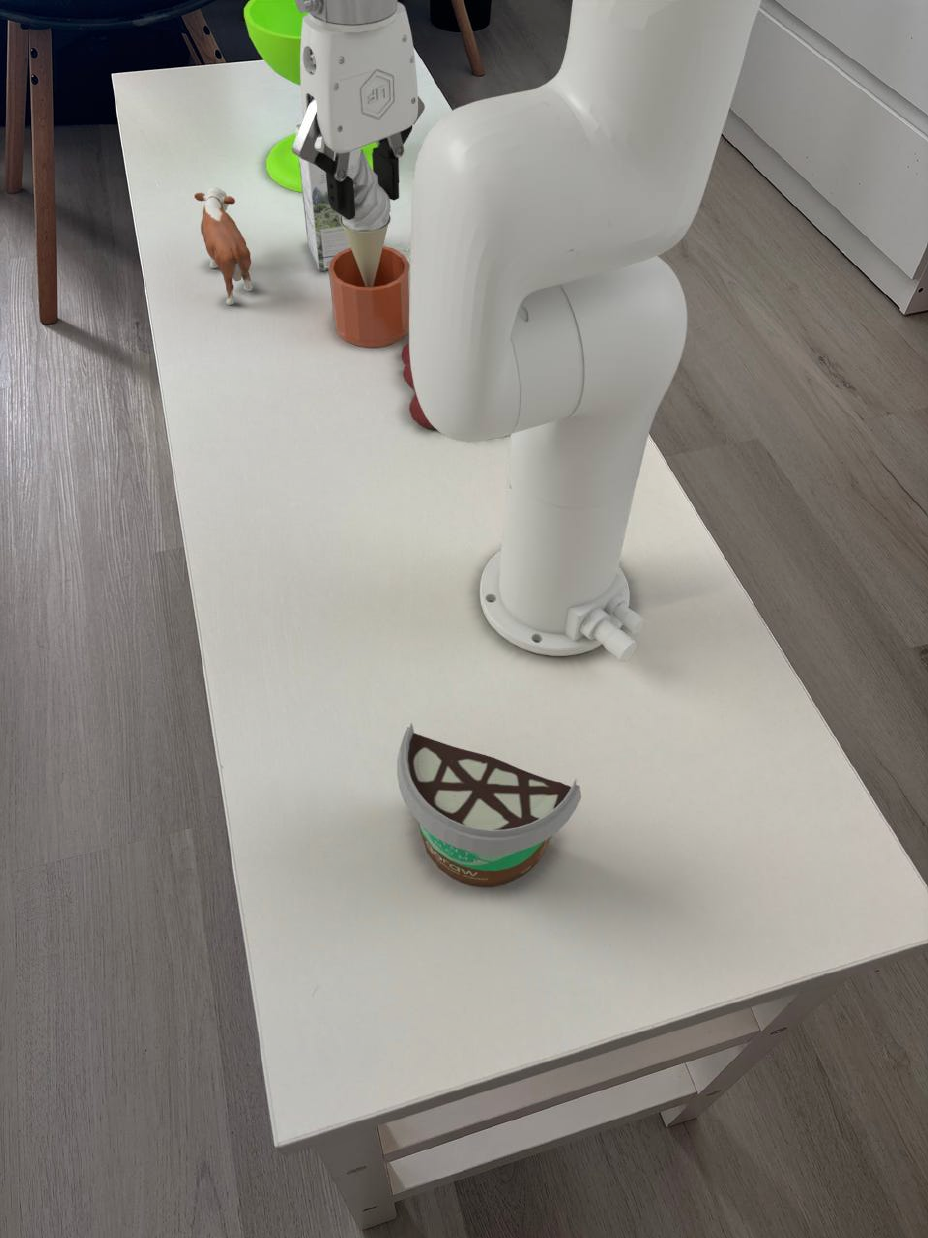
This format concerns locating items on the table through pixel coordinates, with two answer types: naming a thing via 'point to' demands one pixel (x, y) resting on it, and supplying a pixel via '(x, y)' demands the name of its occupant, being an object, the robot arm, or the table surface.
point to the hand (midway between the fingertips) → (365, 201)
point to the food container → (480, 810)
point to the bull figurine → (224, 240)
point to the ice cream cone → (367, 220)
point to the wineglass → (282, 73)
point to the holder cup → (370, 299)
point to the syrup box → (322, 210)
